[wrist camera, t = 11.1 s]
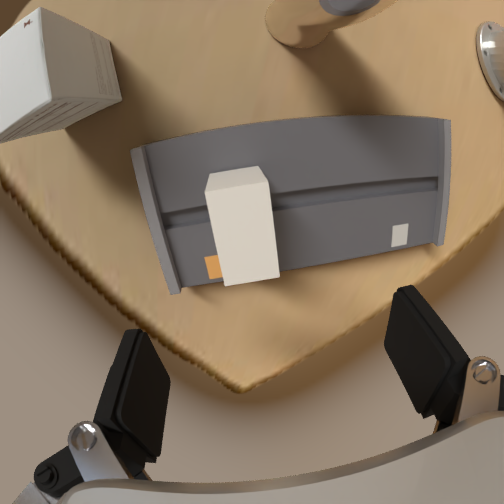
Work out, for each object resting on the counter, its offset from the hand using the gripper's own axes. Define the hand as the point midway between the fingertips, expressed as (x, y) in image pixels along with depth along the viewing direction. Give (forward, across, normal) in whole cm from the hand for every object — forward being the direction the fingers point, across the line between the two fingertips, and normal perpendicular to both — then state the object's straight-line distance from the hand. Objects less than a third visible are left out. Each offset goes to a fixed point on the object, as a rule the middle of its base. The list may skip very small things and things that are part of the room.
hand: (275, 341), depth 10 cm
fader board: (+20, -6, 0) cm, 21 cm away
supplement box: (+20, +14, -15) cm, 28 cm away
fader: (+17, +1, 0) cm, 17 cm away
